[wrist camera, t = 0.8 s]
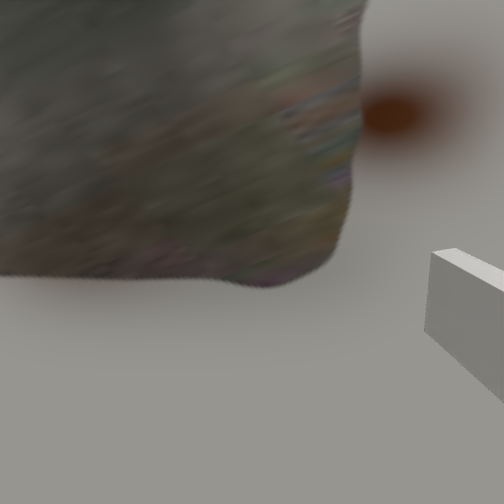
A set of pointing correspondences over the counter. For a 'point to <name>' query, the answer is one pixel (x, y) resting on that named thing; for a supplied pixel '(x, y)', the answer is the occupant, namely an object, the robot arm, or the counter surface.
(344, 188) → the counter surface
